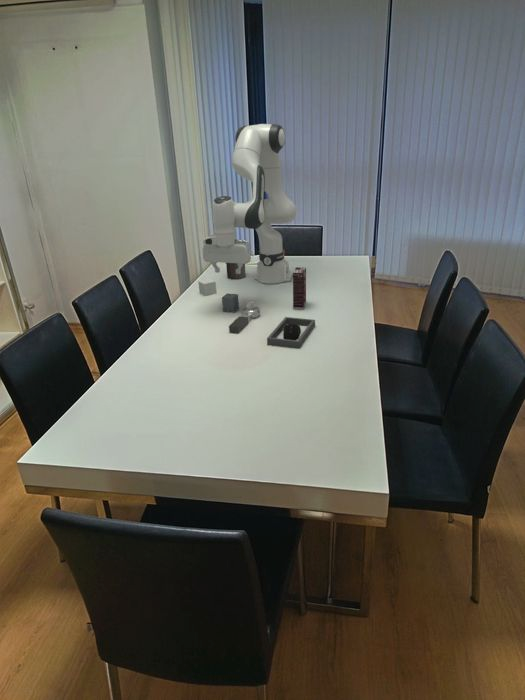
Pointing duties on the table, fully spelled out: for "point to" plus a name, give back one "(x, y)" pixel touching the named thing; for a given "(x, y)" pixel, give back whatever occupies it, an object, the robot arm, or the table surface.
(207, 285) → the light grey cube
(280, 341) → the gray rectangular frame
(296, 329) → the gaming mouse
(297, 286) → the supplement box
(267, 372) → the table surface
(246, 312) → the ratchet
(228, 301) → the blue gray block
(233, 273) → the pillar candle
